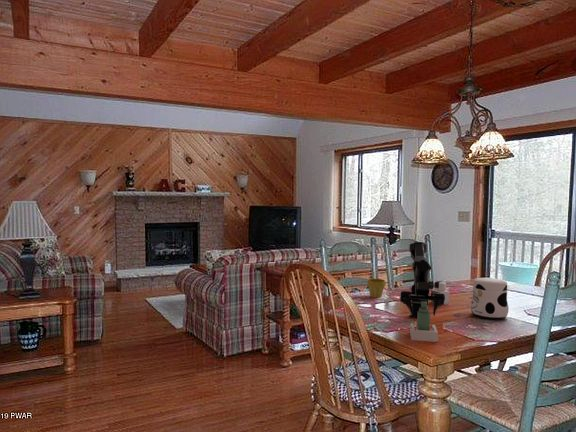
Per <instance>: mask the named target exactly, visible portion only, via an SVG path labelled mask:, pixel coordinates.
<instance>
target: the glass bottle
mask: <svg viewBox="0 0 576 432" xmlns="http://www.w3.org/2000/svg"><path fill="white" fill-rule="evenodd" d="M429 309H430V308H428V305H427V302H426V301H421V308H419V311H418V312H417V317H416V330H426V331H431V312H430V310H429Z"/></svg>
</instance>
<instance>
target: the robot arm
mask: <svg viewBox="0 0 576 432" xmlns="http://www.w3.org/2000/svg"><path fill="white" fill-rule="evenodd" d="M408 247H409V248H408V250H409V251H408V252H409V253H410V257H411V258H410V259H412V260H413V262H412V264H411V267H412V271H413V285H412V286H411V288H410V290H409V291H407V290H406V291H405V290H401V291H400V296H399V302H400V303H403V304H404V305H405V306H406V308H407V309H408V310H409V312H410V314H409V317H412V318H417V312H418V311H419V308H421V301H426V302H427V306H428V305H429V301H431V300H433V301H434V303H433V311H432V316H433V317H435V315H436V311H437V309H438V307H441V306H443V305H445V304H444V300H445V295H444V294H443V293H435V296H431V295H430V290H433V289H435V283H434V281H432V280H431V281H430V280H428V278H429V272H430V271H431V270H432V266H431V265H430V263H429V262H428V261H429V260H428V258H426V257H425V254H427V244H426V243H425V242H423V241H413V242H412V243H410V244H409V246H408Z"/></svg>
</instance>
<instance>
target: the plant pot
mask: <svg viewBox="0 0 576 432" xmlns="http://www.w3.org/2000/svg"><path fill="white" fill-rule="evenodd" d="M366 283H367V286H368V291H369V296H370V298H376V299H379V298H382V297H383V292H384V289H385V287H386V280H385V279H381V278H368V279H367V282H366Z"/></svg>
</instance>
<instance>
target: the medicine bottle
mask: <svg viewBox="0 0 576 432" xmlns="http://www.w3.org/2000/svg"><path fill="white" fill-rule="evenodd" d="M435 293H443V294H444V295H445V300H444V304H443V305H449V304H450V290H447V283H446V282H445V281H443V280H442V281H441V280H438V281H435V282H434V288H433V289H430V296H435ZM430 303H433V304H434V301H433V300H430Z"/></svg>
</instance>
